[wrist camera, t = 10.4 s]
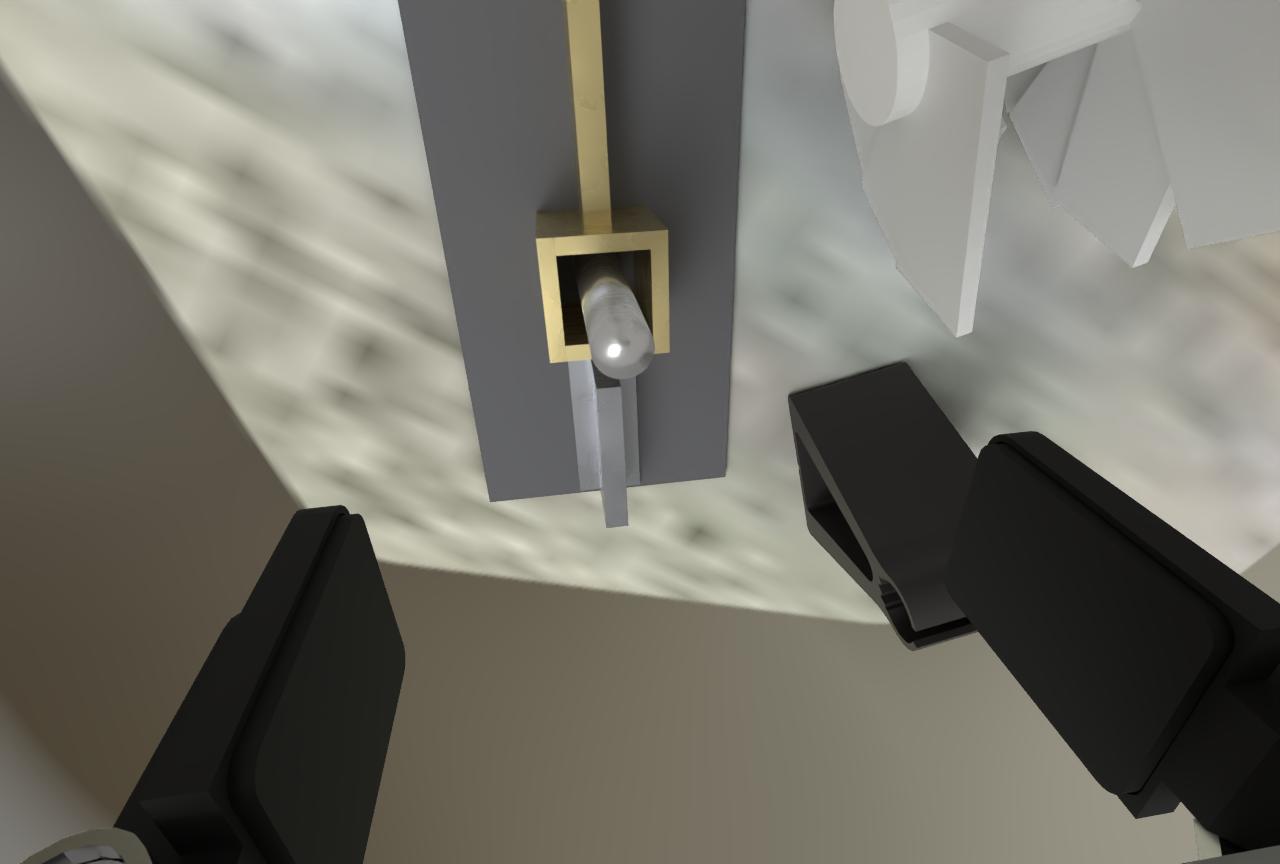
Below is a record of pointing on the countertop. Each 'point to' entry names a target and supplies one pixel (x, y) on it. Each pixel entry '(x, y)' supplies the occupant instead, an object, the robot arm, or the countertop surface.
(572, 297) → the mat
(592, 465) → the fixed leaf
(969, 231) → the spiral staircase
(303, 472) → the countertop surface
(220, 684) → the robot arm
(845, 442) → the phone stand
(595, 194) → the loose leaf
